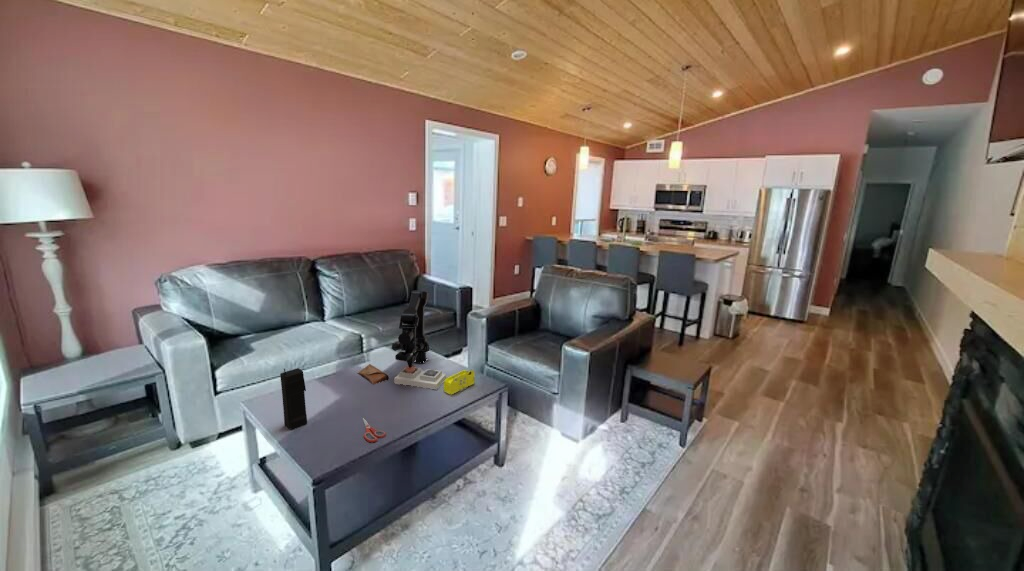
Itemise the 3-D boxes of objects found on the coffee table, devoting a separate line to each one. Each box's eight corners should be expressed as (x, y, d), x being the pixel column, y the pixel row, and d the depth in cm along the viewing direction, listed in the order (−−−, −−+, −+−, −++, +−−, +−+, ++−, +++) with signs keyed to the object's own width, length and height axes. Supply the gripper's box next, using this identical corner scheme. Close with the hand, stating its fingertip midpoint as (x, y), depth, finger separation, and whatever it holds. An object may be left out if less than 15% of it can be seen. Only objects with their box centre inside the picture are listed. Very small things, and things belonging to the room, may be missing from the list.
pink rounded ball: (408, 370, 209) (408, 364, 209) (416, 371, 208) (416, 366, 208) (404, 373, 205) (404, 368, 205) (412, 374, 204) (412, 369, 204)
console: (406, 373, 215) (405, 364, 214) (446, 379, 210) (446, 369, 209) (394, 383, 203) (394, 373, 202) (436, 390, 198) (436, 380, 197)
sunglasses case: (355, 373, 213) (361, 360, 214) (366, 376, 218) (372, 364, 219) (373, 385, 201) (379, 372, 202) (385, 387, 206) (390, 375, 207)
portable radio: (303, 417, 172) (298, 360, 166) (310, 422, 168) (306, 364, 162) (283, 424, 166) (277, 366, 160) (290, 430, 162) (284, 371, 156)
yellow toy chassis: (451, 396, 193) (451, 380, 191) (443, 392, 196) (443, 376, 195) (475, 385, 206) (475, 369, 204) (466, 381, 209) (466, 366, 207)
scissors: (363, 415, 175) (363, 412, 175) (388, 437, 161) (388, 434, 160) (345, 422, 170) (345, 419, 169) (370, 445, 155) (370, 442, 155)
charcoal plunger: (428, 374, 207) (428, 369, 207) (437, 375, 206) (436, 370, 206) (424, 378, 203) (424, 373, 202) (433, 379, 202) (433, 374, 201)
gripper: (403, 329, 213) (404, 358, 217) (384, 341, 196) (385, 372, 199) (423, 331, 211) (424, 360, 214) (406, 344, 193) (407, 375, 197)
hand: (410, 367), depth 206 cm, fingers closed, pressing on pink rounded ball
